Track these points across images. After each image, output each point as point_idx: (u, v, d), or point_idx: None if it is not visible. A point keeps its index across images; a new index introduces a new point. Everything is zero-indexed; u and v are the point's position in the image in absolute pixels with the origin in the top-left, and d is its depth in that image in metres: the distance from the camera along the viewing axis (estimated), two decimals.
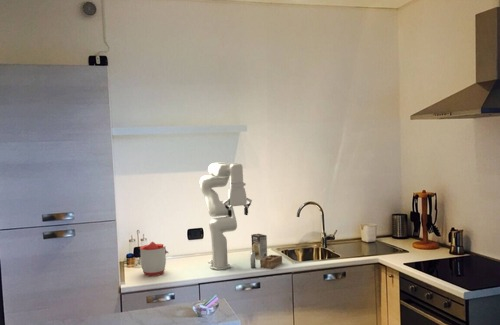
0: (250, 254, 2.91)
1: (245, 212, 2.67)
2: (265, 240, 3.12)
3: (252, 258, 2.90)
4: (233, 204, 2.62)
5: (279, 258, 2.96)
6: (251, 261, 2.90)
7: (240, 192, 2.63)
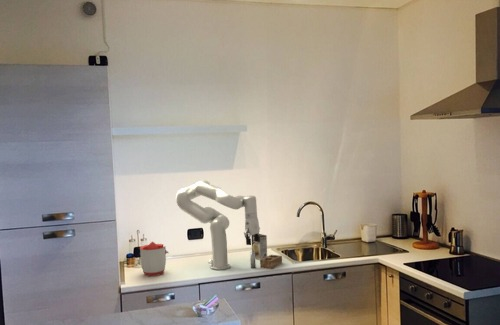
0: (250, 254, 2.91)
1: None
2: (265, 240, 3.12)
3: (252, 258, 2.90)
4: None
5: (279, 258, 2.96)
6: (251, 261, 2.90)
7: None
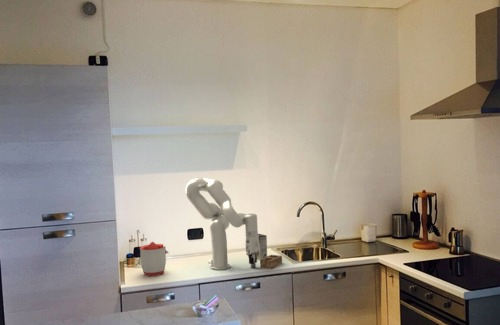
0: None
1: None
2: (265, 240, 3.12)
3: None
4: None
5: (279, 258, 2.96)
6: None
7: None
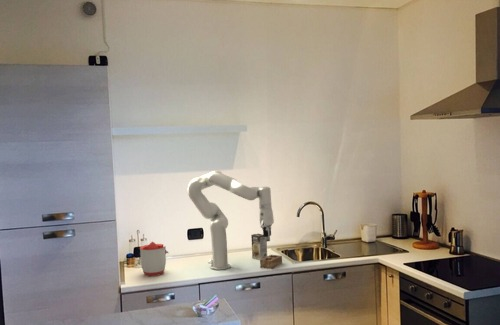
0: None
1: None
2: None
3: None
4: None
5: (279, 258, 2.96)
6: None
7: None
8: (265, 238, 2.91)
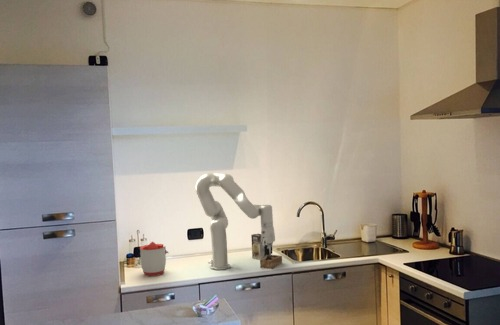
0: None
1: None
2: None
3: None
4: None
5: (279, 258, 2.96)
6: None
7: None
8: (266, 256, 2.91)
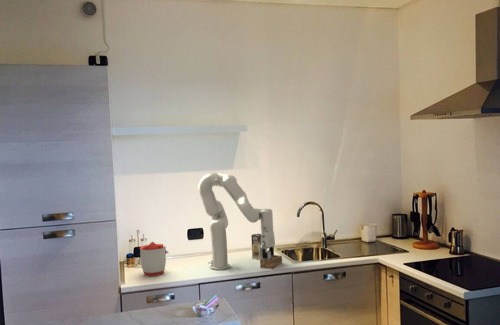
0: None
1: None
2: None
3: (268, 257, 2.90)
4: None
5: (279, 258, 2.96)
6: None
7: None
8: None
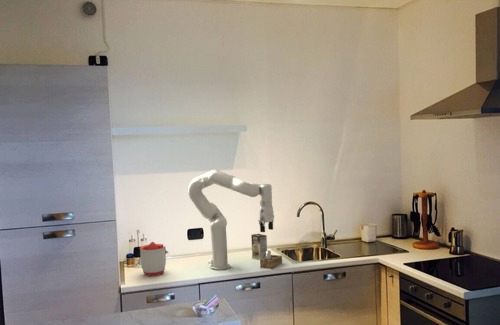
0: (266, 253, 2.91)
1: None
2: (265, 240, 3.12)
3: (268, 257, 2.91)
4: None
5: (279, 258, 2.96)
6: None
7: None
8: None
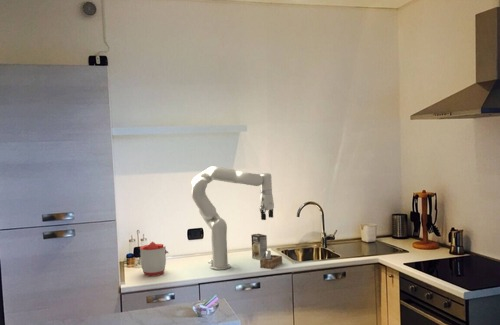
0: (266, 253, 2.91)
1: None
2: (265, 240, 3.12)
3: (268, 257, 2.91)
4: None
5: (279, 258, 2.96)
6: None
7: None
8: None
